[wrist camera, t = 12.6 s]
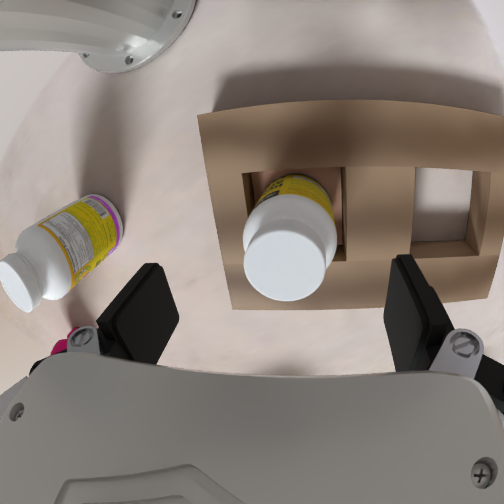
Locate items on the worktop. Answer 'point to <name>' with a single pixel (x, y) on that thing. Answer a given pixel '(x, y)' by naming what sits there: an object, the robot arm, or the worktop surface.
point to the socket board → (359, 191)
